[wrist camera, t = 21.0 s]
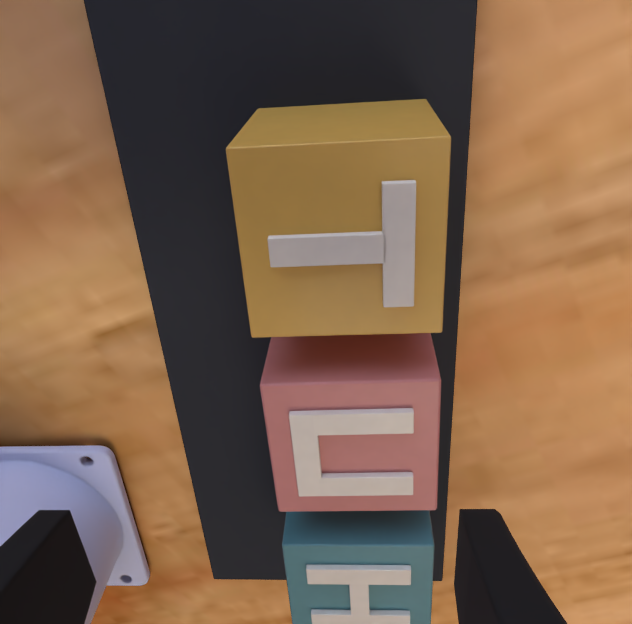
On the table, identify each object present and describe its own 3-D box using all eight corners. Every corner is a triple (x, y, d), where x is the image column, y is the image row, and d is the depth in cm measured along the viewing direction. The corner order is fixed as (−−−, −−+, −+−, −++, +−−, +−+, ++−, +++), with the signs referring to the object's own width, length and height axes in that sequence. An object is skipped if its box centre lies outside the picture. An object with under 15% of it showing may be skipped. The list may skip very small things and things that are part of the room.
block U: (292, 413, 21) (277, 518, 17) (278, 300, 19) (258, 389, 15) (421, 410, 21) (438, 517, 16) (422, 294, 18) (442, 384, 14)
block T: (273, 261, 18) (249, 342, 14) (257, 107, 16) (222, 149, 12) (422, 256, 18) (443, 338, 14) (426, 98, 16) (452, 137, 11)
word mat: (216, 567, 26) (213, 579, 26) (89, -14, 15) (80, -14, 15) (440, 569, 26) (442, 581, 25) (475, -44, 15) (480, -45, 14)
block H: (304, 528, 24) (293, 642, 20) (294, 442, 22) (280, 550, 18) (417, 528, 24) (430, 645, 19) (419, 441, 21) (435, 551, 17)
